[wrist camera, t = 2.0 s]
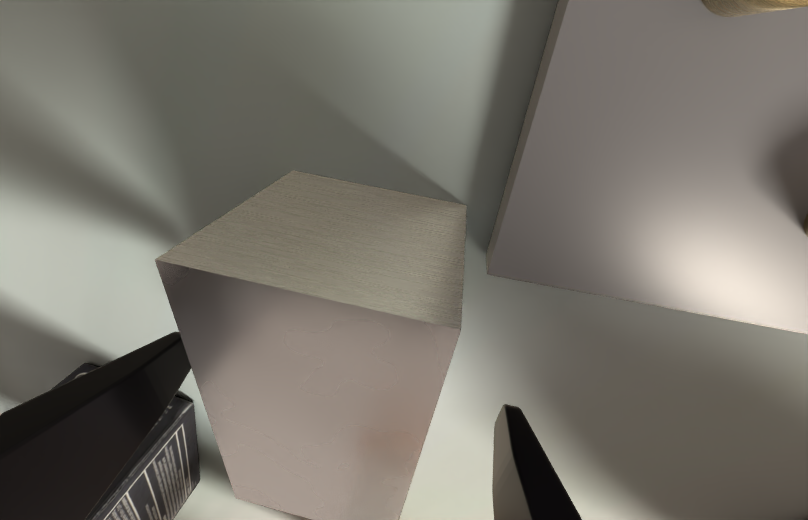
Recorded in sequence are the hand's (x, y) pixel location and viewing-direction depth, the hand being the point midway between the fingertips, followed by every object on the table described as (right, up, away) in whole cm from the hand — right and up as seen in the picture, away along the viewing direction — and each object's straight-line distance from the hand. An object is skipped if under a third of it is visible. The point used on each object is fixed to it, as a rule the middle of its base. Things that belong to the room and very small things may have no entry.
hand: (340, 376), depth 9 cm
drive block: (0, +2, +3) cm, 3 cm away
